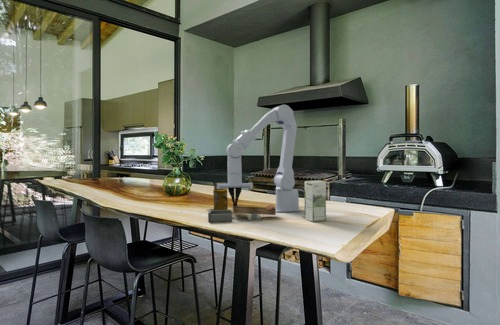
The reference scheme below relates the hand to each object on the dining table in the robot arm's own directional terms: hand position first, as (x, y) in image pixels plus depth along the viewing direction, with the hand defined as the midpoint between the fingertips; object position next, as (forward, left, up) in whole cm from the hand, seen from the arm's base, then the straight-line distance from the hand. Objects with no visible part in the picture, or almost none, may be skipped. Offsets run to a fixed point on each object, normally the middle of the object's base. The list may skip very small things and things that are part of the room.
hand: (235, 206), depth 129 cm
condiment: (+7, -9, -4) cm, 12 cm away
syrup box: (-29, +15, -4) cm, 33 cm away
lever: (-7, +5, -1) cm, 8 cm away
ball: (-13, +8, 0) cm, 15 cm away
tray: (+6, +8, -3) cm, 11 cm away
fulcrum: (-7, +8, -3) cm, 11 cm away
